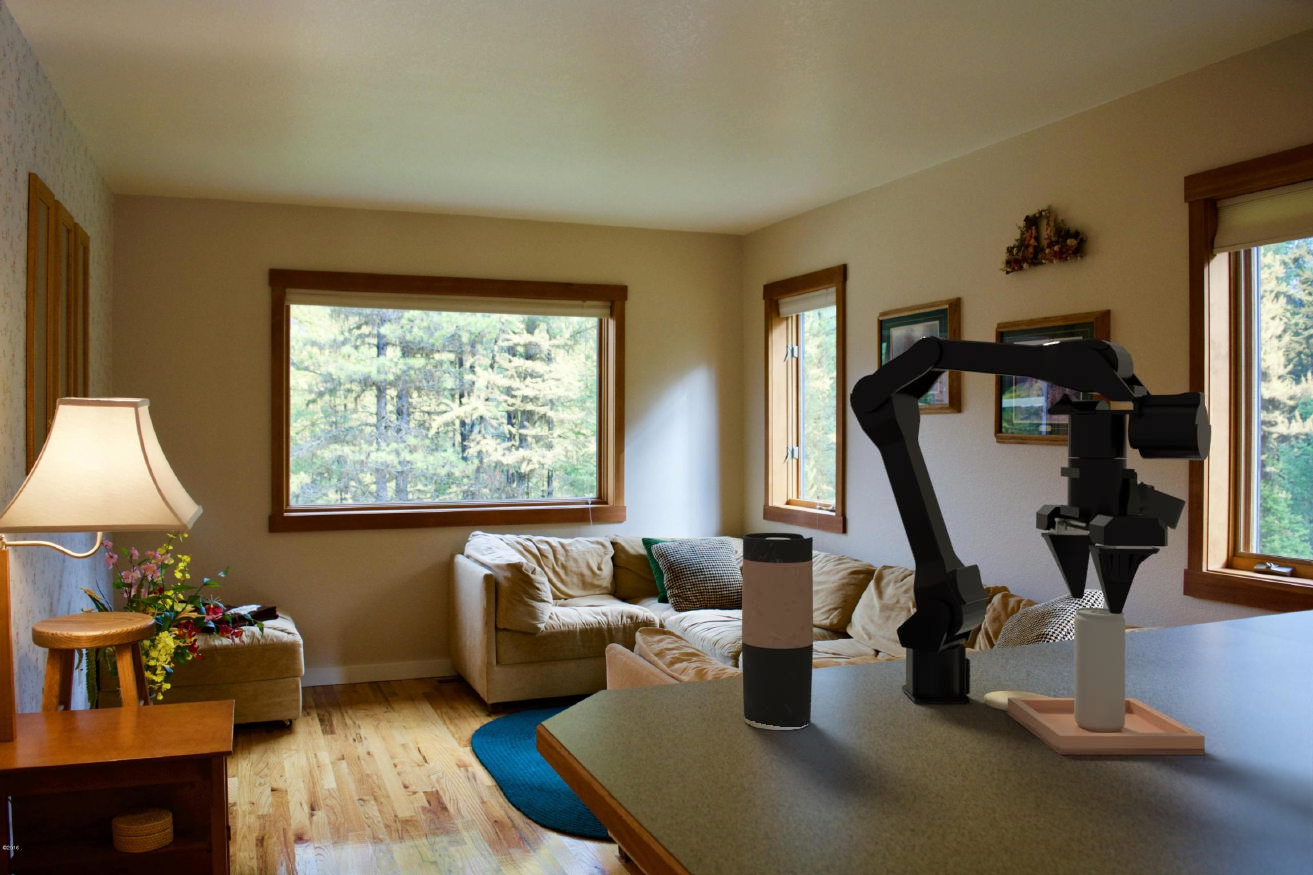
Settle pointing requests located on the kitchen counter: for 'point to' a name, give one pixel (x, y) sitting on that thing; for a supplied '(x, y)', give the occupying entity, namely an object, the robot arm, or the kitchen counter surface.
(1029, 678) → the kitchen counter surface
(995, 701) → the cork coaster
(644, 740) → the kitchen counter surface
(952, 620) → the robot arm
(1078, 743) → the tray
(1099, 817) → the kitchen counter surface
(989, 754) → the kitchen counter surface
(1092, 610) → the beverage can
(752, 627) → the travel mug
